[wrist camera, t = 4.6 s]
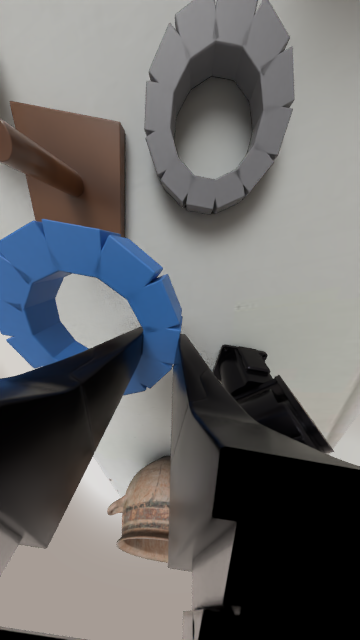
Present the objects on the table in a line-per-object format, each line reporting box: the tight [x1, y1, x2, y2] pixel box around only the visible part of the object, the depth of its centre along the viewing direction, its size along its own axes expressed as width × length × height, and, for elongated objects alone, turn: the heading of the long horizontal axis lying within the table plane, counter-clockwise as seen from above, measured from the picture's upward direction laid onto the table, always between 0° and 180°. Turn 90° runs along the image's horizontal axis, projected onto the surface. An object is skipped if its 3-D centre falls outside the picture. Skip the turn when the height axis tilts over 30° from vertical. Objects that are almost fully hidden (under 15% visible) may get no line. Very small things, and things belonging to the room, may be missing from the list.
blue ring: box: [0, 219, 182, 395], centre depth 9 cm, size 10×10×2 cm
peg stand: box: [0, 101, 125, 238], centre depth 11 cm, size 9×9×7 cm
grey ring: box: [144, 0, 294, 214], centre depth 11 cm, size 10×10×2 cm
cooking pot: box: [107, 456, 171, 563], centre depth 31 cm, size 25×19×12 cm
